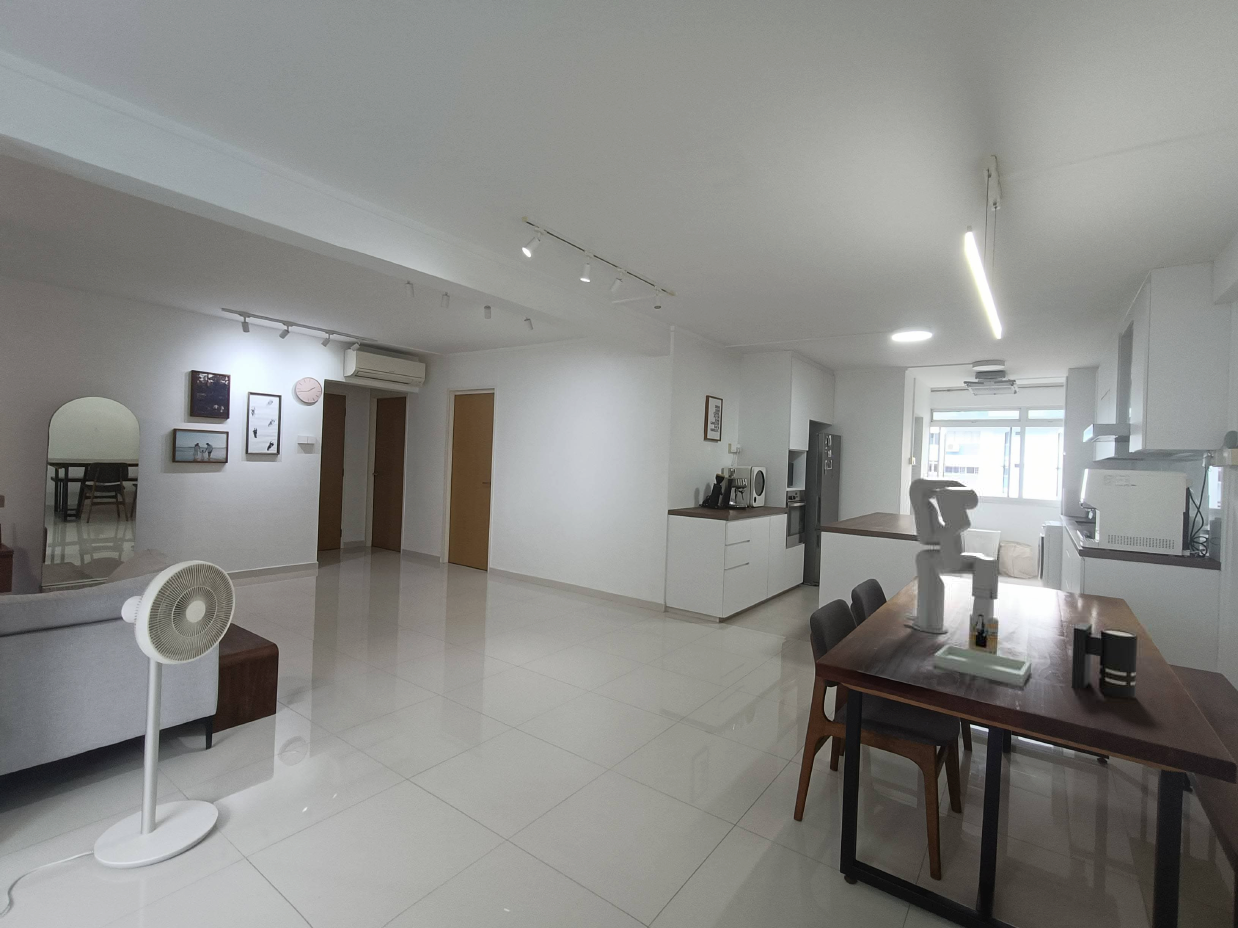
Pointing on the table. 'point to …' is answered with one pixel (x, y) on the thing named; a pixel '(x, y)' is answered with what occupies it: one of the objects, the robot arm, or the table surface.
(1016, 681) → the tray
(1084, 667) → the outdoor wall sconce
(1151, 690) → the table surface
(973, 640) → the supplement box
